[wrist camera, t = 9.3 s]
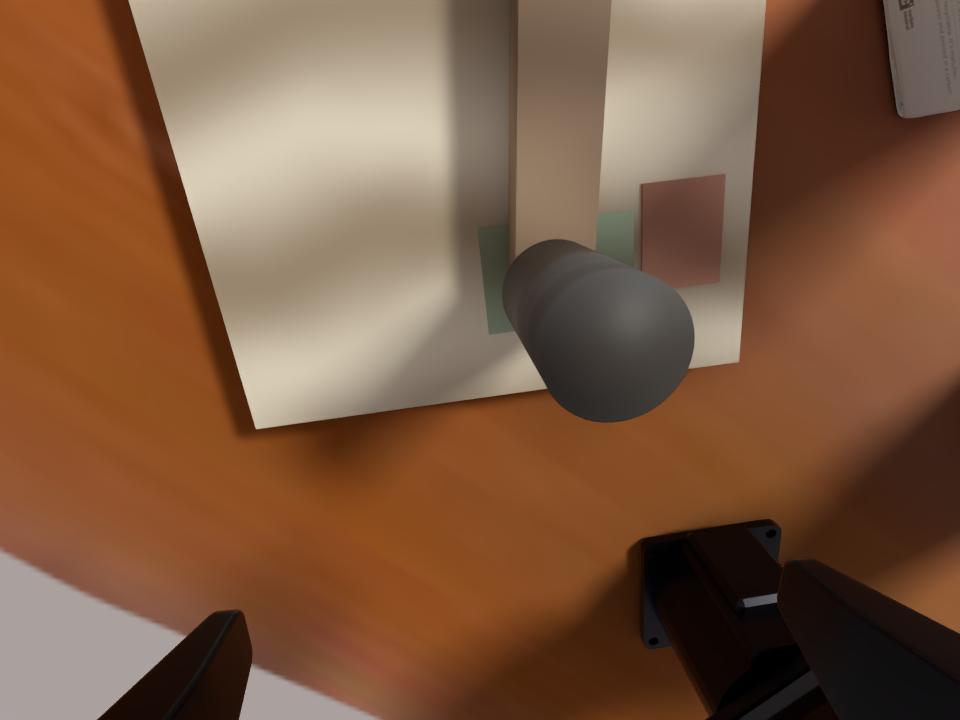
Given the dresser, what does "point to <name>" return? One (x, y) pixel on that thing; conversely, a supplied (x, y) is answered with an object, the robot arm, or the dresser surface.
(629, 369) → the lever
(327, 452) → the dresser surface
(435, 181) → the board
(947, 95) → the skincare box
